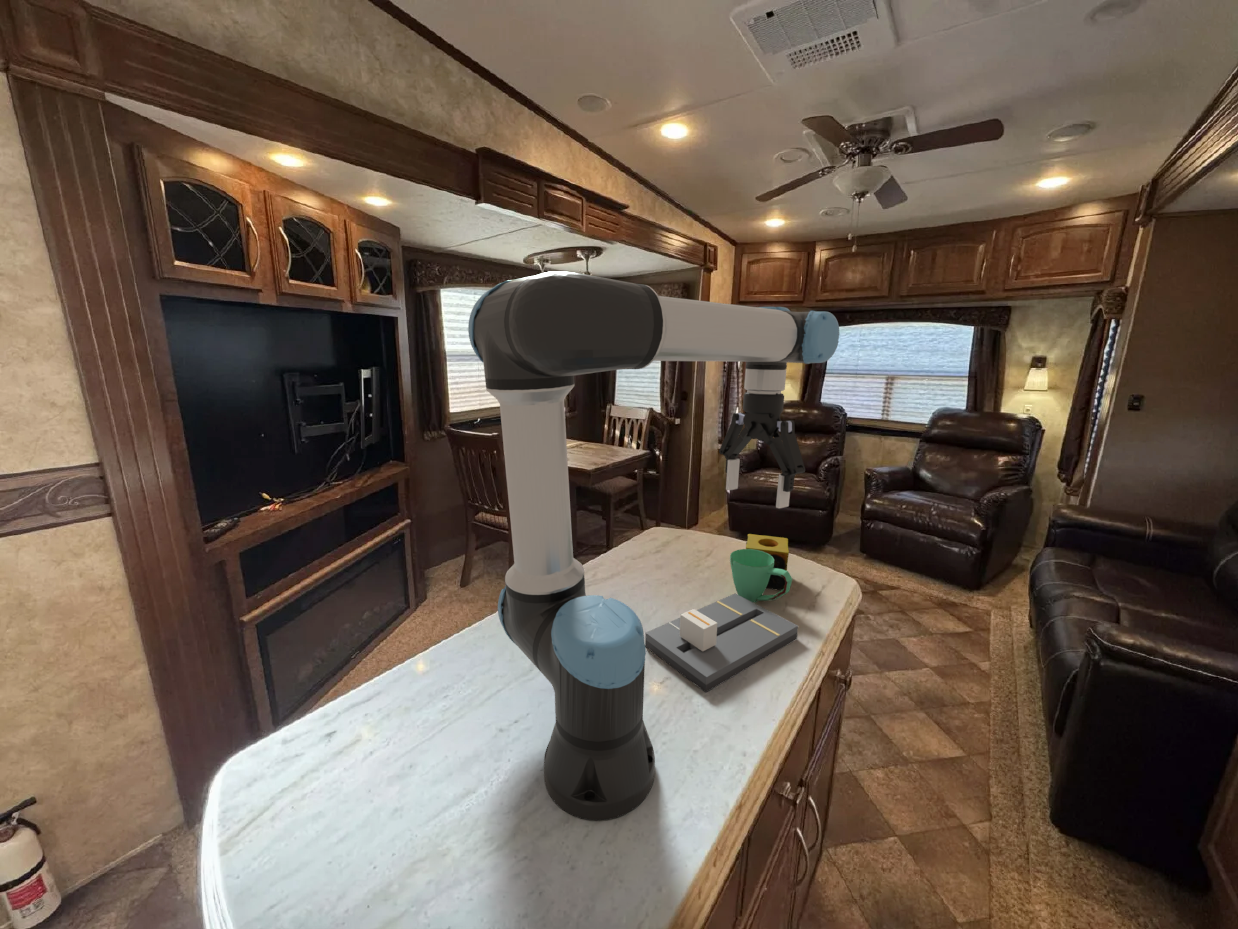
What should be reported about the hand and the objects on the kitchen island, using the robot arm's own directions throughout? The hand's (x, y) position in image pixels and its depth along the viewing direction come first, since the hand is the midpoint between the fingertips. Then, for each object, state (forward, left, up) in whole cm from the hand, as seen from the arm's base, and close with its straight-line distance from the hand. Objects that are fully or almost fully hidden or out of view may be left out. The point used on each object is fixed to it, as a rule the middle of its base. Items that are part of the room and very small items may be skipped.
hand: (755, 497), depth 98 cm
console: (-11, -3, -27) cm, 29 cm away
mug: (+8, +3, -27) cm, 28 cm away
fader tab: (-18, -3, -25) cm, 31 cm away
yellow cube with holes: (+18, +9, -27) cm, 34 cm away
